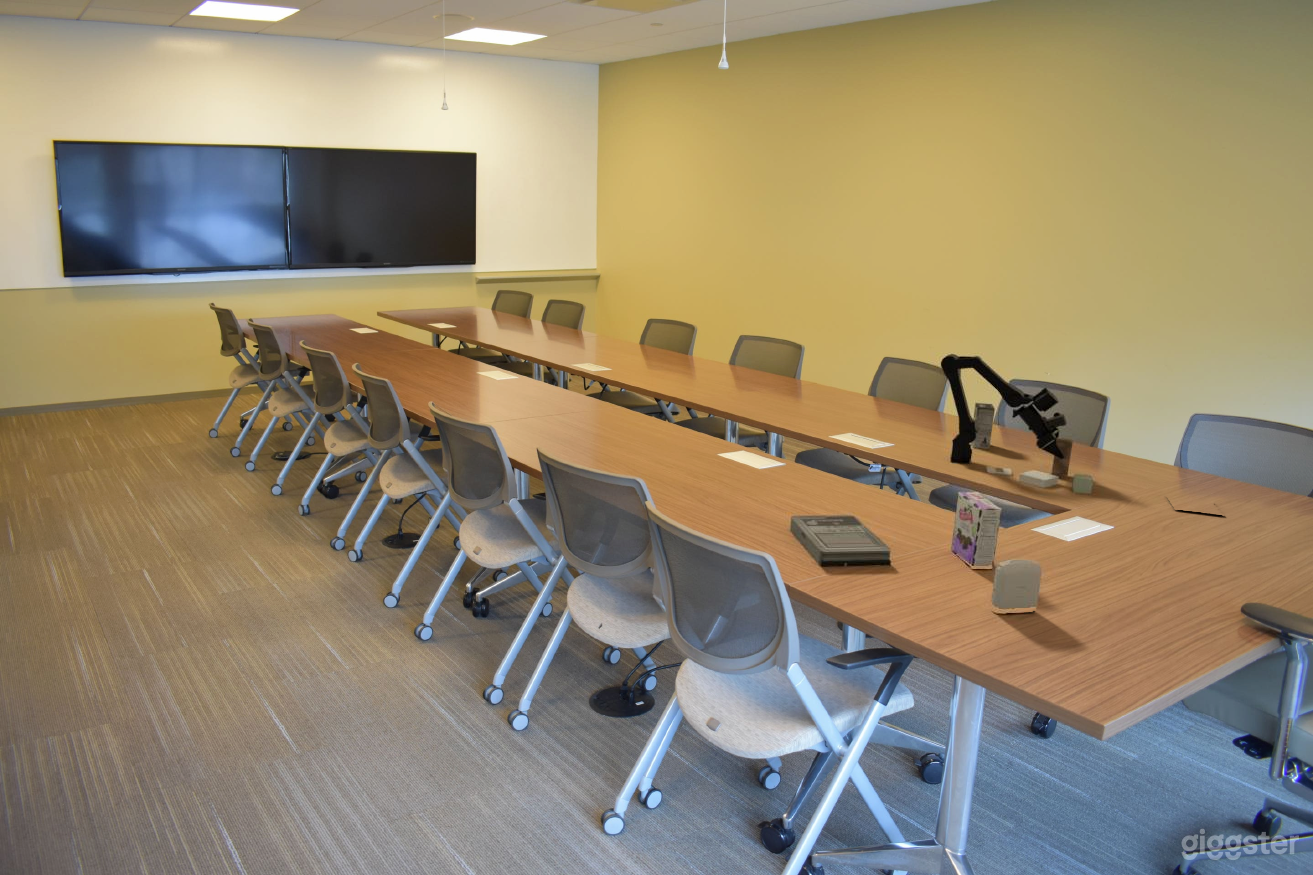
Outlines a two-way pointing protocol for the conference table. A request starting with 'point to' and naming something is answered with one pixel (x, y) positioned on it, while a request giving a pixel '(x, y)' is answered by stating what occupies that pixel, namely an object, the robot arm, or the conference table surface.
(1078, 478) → the sage cube
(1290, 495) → the conference table surface
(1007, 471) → the card
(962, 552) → the candy box
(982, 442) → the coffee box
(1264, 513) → the conference table surface
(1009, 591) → the photo printer
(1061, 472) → the walnut pillar
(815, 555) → the hard drive
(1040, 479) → the grey base block
